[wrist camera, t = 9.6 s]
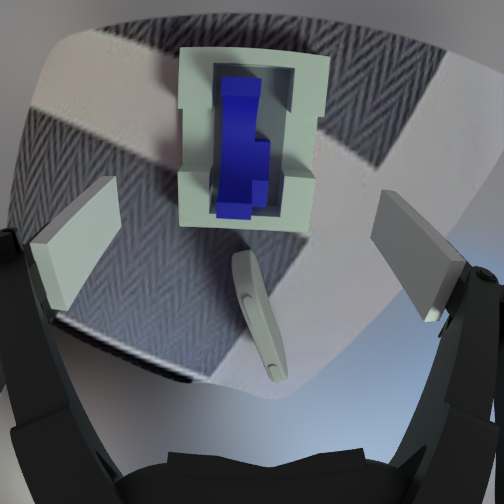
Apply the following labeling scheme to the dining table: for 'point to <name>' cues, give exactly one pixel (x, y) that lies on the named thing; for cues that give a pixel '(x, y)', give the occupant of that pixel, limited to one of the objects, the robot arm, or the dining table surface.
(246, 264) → the slide sandal
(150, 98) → the dining table surface
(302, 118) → the holder
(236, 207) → the cable clip
